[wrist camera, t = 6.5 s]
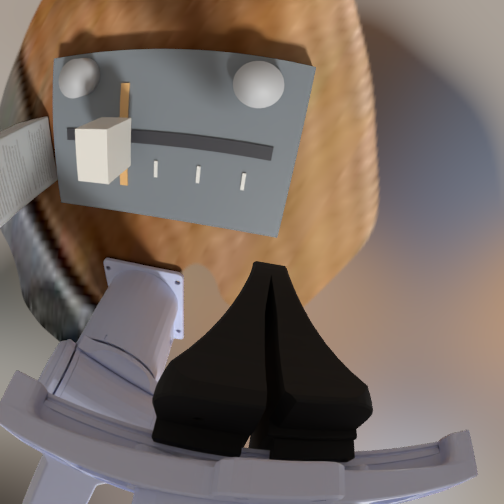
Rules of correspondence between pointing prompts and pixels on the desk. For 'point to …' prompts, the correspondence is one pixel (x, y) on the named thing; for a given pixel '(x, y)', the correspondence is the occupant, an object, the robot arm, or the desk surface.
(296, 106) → the console
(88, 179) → the fader tab
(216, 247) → the desk surface
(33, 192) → the skincare box
